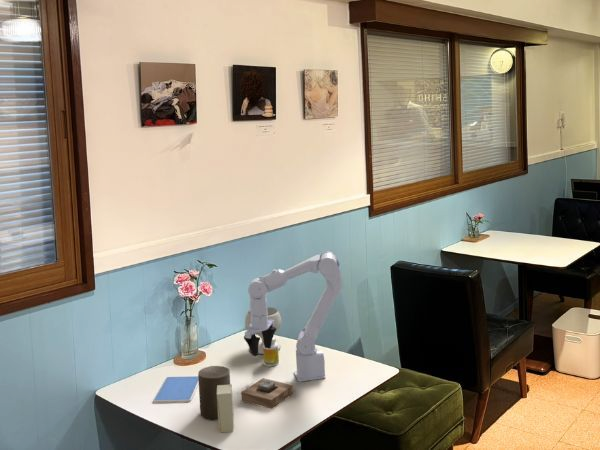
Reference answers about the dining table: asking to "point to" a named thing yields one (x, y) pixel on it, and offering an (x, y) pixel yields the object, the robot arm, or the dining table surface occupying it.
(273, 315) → the chalice
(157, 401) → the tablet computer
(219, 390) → the skincare box
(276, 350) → the supplement bottle
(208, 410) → the pillar candle
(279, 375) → the dining table surface
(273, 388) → the peg
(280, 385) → the holder
